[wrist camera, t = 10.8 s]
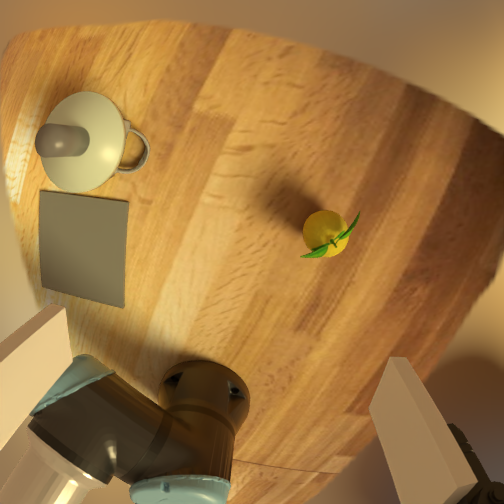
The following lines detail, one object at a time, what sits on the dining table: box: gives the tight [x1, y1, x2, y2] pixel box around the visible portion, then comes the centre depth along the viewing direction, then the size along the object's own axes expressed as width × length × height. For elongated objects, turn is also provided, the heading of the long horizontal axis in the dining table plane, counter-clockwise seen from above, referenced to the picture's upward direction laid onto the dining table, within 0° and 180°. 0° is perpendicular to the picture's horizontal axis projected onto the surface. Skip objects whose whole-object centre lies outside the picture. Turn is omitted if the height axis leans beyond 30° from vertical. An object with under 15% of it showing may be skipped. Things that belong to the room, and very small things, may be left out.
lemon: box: [301, 210, 360, 258], centre depth 37 cm, size 7×6×10 cm
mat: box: [39, 191, 129, 308], centre depth 44 cm, size 16×16×1 cm
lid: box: [35, 91, 126, 193], centre depth 29 cm, size 12×12×7 cm
